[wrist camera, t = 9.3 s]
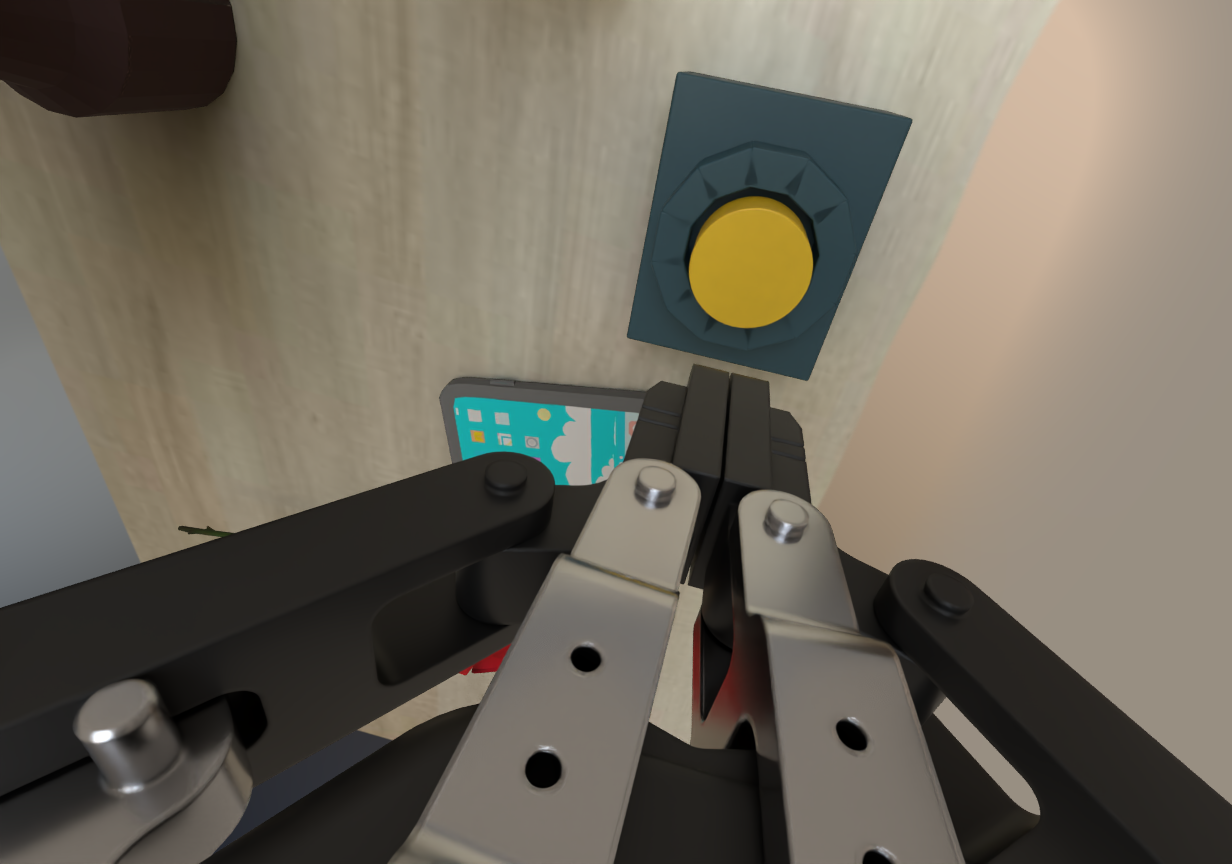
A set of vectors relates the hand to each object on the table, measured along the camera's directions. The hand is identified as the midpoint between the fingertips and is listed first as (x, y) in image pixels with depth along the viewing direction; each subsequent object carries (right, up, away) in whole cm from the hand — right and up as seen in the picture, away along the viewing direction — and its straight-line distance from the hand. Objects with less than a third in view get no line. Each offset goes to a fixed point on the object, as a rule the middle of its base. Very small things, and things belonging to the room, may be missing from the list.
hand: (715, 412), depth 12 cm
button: (+3, +6, +9) cm, 11 cm away
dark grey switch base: (+4, +9, +14) cm, 17 cm away
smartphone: (-4, -1, +22) cm, 23 cm away
